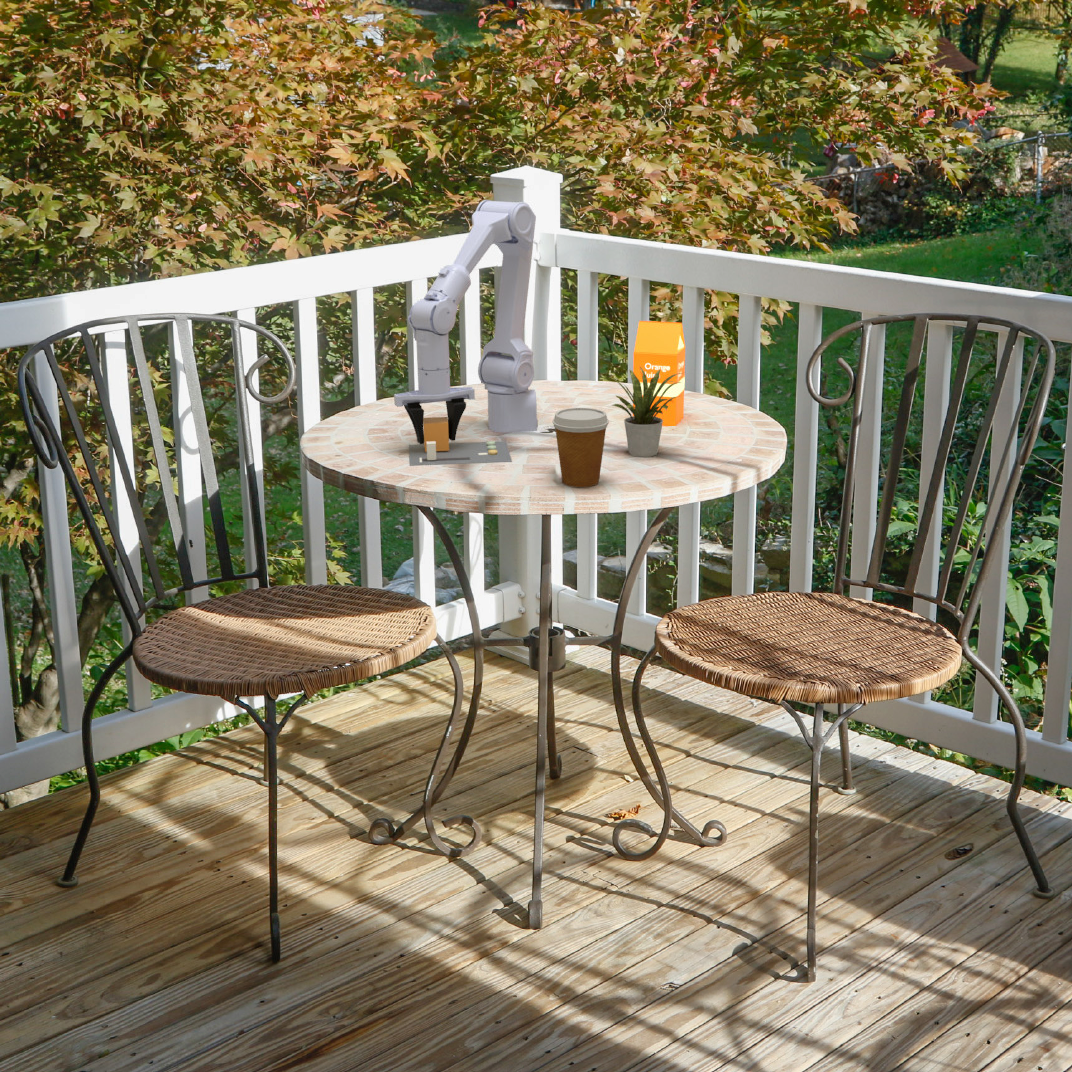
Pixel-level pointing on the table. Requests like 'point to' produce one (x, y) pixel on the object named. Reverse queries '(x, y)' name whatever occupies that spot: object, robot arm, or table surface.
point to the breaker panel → (462, 453)
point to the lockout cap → (436, 432)
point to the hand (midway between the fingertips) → (436, 441)
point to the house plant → (644, 414)
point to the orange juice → (662, 364)
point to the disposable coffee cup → (580, 444)
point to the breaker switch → (431, 450)
